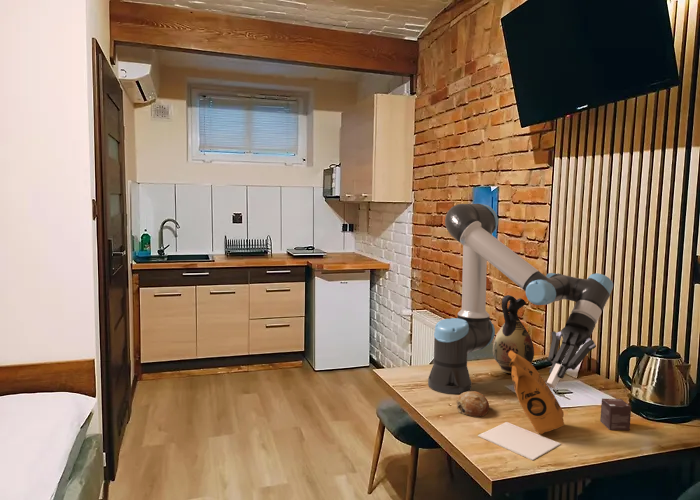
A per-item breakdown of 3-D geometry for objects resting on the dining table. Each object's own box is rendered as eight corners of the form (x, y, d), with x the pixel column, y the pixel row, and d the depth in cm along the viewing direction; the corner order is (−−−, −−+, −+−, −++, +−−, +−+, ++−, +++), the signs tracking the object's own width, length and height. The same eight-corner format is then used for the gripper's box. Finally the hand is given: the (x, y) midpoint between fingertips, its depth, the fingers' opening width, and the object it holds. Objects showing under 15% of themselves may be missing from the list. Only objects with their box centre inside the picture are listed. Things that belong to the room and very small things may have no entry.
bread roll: (453, 418, 164) (446, 399, 161) (472, 398, 169) (466, 379, 166) (478, 429, 156) (472, 409, 153) (497, 408, 161) (491, 388, 159)
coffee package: (533, 438, 144) (495, 369, 145) (532, 419, 156) (497, 355, 157) (567, 426, 141) (528, 356, 141) (564, 407, 152) (527, 342, 153)
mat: (477, 436, 144) (477, 435, 144) (506, 422, 153) (506, 421, 153) (532, 460, 131) (532, 459, 131) (560, 444, 140) (560, 443, 140)
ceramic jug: (507, 361, 211) (511, 290, 208) (541, 372, 198) (545, 296, 195) (480, 369, 201) (483, 294, 198) (513, 381, 188) (517, 301, 185)
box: (619, 421, 155) (621, 398, 154) (630, 430, 149) (632, 406, 148) (599, 421, 155) (601, 398, 154) (609, 430, 149) (610, 406, 148)
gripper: (608, 330, 150) (577, 399, 141) (566, 322, 160) (534, 385, 151) (601, 315, 146) (568, 385, 137) (558, 307, 156) (525, 372, 148)
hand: (550, 385), depth 144 cm, fingers closed
